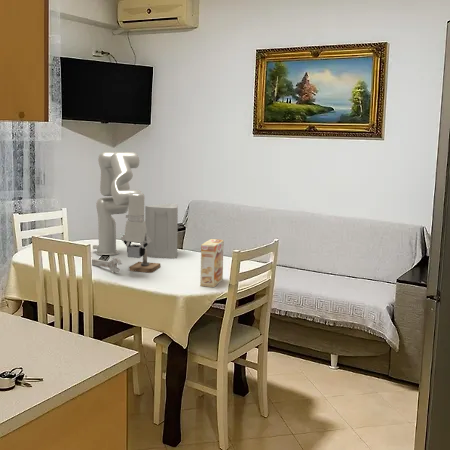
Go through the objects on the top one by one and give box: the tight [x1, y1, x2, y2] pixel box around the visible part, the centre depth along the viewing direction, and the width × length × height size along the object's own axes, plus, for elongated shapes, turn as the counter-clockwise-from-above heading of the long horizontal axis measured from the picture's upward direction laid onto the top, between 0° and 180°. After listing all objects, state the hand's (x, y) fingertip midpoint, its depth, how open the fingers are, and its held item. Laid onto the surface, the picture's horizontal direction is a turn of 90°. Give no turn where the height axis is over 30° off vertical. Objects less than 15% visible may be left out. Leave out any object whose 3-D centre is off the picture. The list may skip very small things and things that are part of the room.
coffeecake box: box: [199, 238, 225, 288], centre depth 275 cm, size 15×7×20 cm, turn 164°
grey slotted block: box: [127, 243, 144, 259], centre depth 285 cm, size 6×6×5 cm
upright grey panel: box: [144, 202, 179, 260], centre depth 326 cm, size 19×15×28 cm
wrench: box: [91, 257, 122, 274], centre depth 296 cm, size 8×2×30 cm
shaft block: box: [128, 248, 161, 274], centre depth 298 cm, size 12×12×10 cm
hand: (136, 254), depth 285 cm, fingers closed on grey slotted block, 6 cm apart
